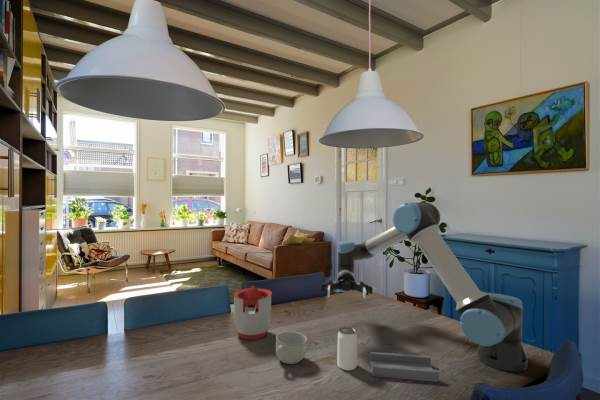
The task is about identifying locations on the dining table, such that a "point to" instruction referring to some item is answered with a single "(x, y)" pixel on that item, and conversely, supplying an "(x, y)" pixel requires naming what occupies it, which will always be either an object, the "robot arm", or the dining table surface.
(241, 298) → the citrus juicer
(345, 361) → the can
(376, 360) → the tray
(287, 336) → the teacup
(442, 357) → the dining table surface
